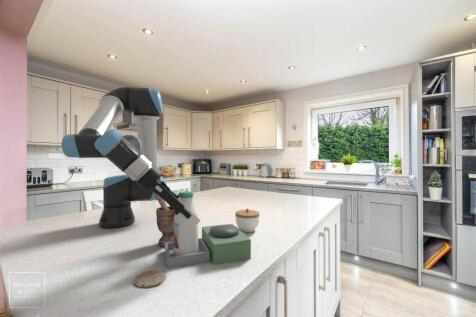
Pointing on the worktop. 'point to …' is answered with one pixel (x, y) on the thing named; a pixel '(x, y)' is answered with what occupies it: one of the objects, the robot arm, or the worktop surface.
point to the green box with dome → (226, 243)
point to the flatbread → (149, 279)
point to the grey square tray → (187, 259)
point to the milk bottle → (185, 228)
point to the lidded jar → (247, 220)
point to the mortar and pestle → (165, 221)
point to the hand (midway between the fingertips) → (193, 217)
